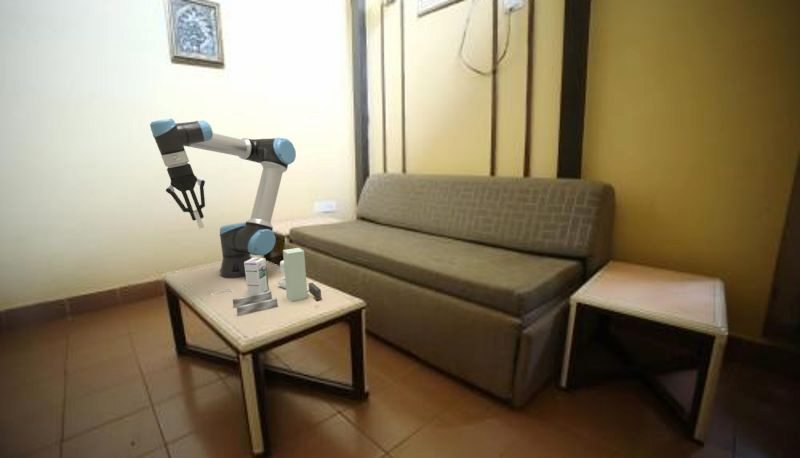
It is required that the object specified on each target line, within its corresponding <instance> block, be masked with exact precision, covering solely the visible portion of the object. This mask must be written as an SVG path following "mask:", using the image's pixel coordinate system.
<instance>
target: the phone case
mask: <svg viewBox="0 0 800 458" xmlns="http://www.w3.org/2000/svg"><path fill="white" fill-rule="evenodd" d="M228 292H231V293H234V290H232V289H231V288H229V289H224V290H219V291H215V292H211V293H210V295H211V296H210V297H214V296H215V295H219V294H224V293H228Z"/></svg>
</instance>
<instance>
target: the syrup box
mask: <svg viewBox="0 0 800 458" xmlns="http://www.w3.org/2000/svg"><path fill="white" fill-rule="evenodd" d="M251 258H252V259H250V260H248V261H245V262H244V266H245V274H246V276H245V279H246V280H245V281H246V288H247V289H246V290H247V294H248V295H255V294H260V293H265V292H269V291H270V287H269V286H270V285H269V279H268V271H267V269H268V267H267V260H266V257H251Z"/></svg>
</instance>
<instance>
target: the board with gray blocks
mask: <svg viewBox="0 0 800 458" xmlns="http://www.w3.org/2000/svg"><path fill="white" fill-rule="evenodd" d="M307 295H309V296H310V297H311V298H312V299H313V300H315V301H316V302H319V301H322V300H323V299H322V289H320V287H318V286H317V285H316V284H314V283H313V282H309V283H308V289H307ZM272 296H273V295H272V291H270V290H269V291H267V292H265V293H260V294H255V295H251V294H249V295H247V296H242V297H237V298H232V307H233V308H236V314H237V317H238V316H243V315H248V314H252V313H256V312H260V311H266V310H269V309H274V308H278V299H277V298H276V297H274V298H273V297H272Z"/></svg>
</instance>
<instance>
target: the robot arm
mask: <svg viewBox="0 0 800 458" xmlns="http://www.w3.org/2000/svg"><path fill="white" fill-rule="evenodd" d="M149 127H150V131H151V133H152V136H153V138H154V140H155V143H156V145H157V148H158V151H159V154H160V156H161V159H162V161H163V164H164V166H165V167H166V172H167V173H168V174H167V175H168V176H169V179H170V185H169V186H168V187H167V188H166V189H165V192H167V194H168V195H170V196H171V197H172V198H173V200H174V201H175V203H176V204H177V205H178V207H179V208H180V209H181V211H182V212H183V213H189V215H190V217H191V220H192V221H196V223H197V226H198V228H199V229H204V228H205V225H204V223H203V220H202V219H204V217H205V216H204V214H203V211H202V209H203V208H205V207H206V201H205V200H206V198H205V189H204V187H205V183H206V181H205V180H204V179H199V178H198V177H197V176H196V174H195V173H194V170H193V168H192V165H191V164H190V163H189V162H190V160H189V157H188V155H187V152H186V149H185V147H189V148H194V149H199V150H204V151H205V150H206V151H210V152H215V153H219V154H226V155H229V156H230V155H231V156H236V157H238V158H239V159H242V160H246V161H249V162H254V163H258V164H260V166H262V170H261V171H262V172H261V176H260V179H259V183H258V187H257V191H256V196H255V199H254V204H253V208H252V212H251V215H250V218H249V219H248V220H246V221H245V222H239V223H230V224H226V225H223V226H221V227H220V228H219V237H220V238H219V239H220V244H221V245H220V246H221V253H222V262H221V265H220V270H219V272H220V273H219V274H220V277H223V278H230V279H231V278H232V279H233V278H241V277H246V274H245V266H244V262H245V261H248V260H250V259H252V258H253V257H252V256H251V255H253V256H265V255H268V253H270V252H271V251H272V250H273V249H274V247H275V245H276V239H277V238H276V236H275V233H274V232H273V230H274V227H273V225H272V223H271V222H272V218H273V213H274V211H275V207H276V202H277V198H278V195H279V194H278V193H279V189H280V186H281V181H282V178H283V173H285V172H287V171H288V167H289V165H291V164H292V163H294V162H295V160H296V158H297V157H296V156H297V154H296V149H295V146H294V144H293V142H291V140H290V139H288V138H285V137H275V138H274V137H273V138H257V139H256V138H255V139H254V138H253V139H252V138H245V137H243V138H241V139H240V138H236V137H232V136H228V135H224V134H219V133H215V132H213V128H212V126H211V124H209V123H208V121H206V120H195V121H189V122H187V121H186V122H178V123H176V122H175V120H174V119H173V118H166V119H159V120H154V121H151V122H150V124H149ZM196 184H197V185H198V186H199V191H200V192H199V193H200V203H199V200H198V197H197V194H196V192H195V189H194V188H195V186H196ZM175 190H177V191H179V192H181V194H182V197H183V200H184V203H185V204H186V205H185V204H184V203H183V201H182V200H181V199H180V198H179V196H178V194H177V193H176V191H175ZM187 191H189V193H190V195H191V197H192V200H193V203H194V206H195V208H196V209H195V210H194V209H193V206H192V203H191V201H190V199H189V195H188V193H187Z"/></svg>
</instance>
